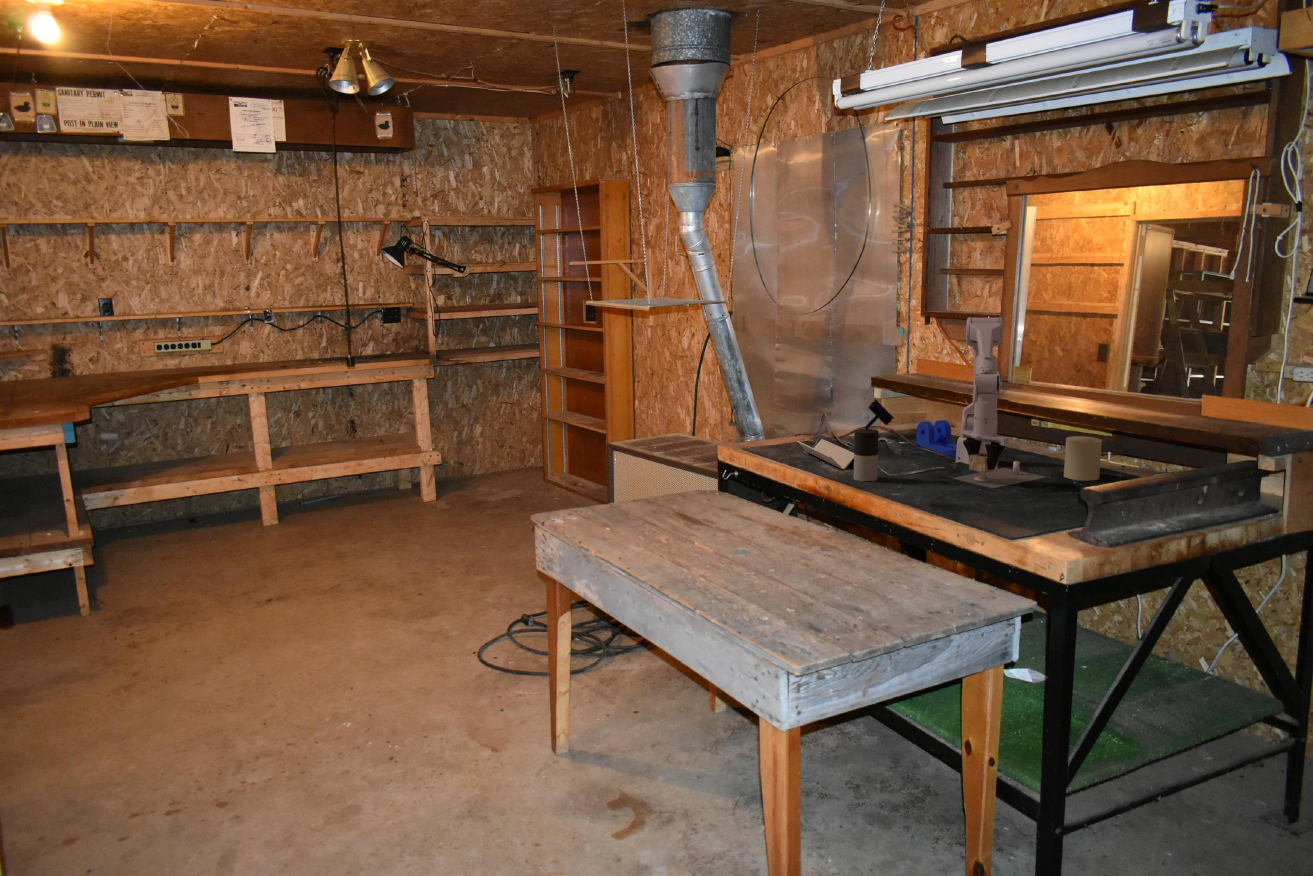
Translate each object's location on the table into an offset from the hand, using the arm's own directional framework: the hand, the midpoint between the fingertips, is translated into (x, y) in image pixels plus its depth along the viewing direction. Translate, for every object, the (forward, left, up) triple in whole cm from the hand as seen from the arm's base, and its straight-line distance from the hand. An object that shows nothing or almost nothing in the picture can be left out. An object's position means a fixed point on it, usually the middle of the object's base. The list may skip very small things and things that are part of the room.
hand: (982, 467), depth 251 cm
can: (+12, +26, -5) cm, 29 cm away
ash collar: (0, 0, -1) cm, 1 cm away
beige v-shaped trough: (-46, -13, -5) cm, 48 cm away
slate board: (0, +7, -5) cm, 8 cm away
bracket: (-37, +26, -5) cm, 46 cm away
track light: (-22, -19, -5) cm, 29 cm away
